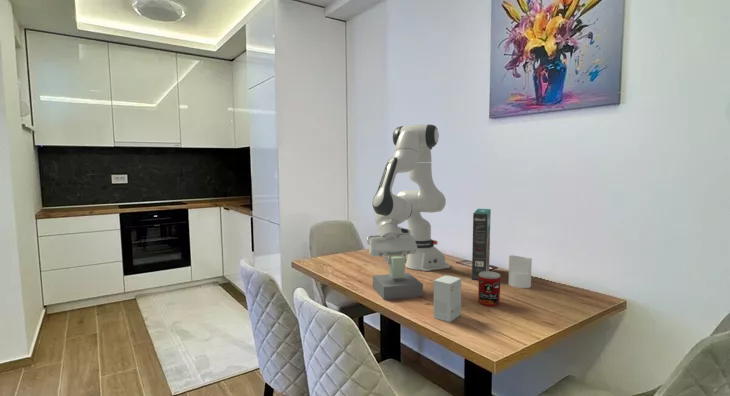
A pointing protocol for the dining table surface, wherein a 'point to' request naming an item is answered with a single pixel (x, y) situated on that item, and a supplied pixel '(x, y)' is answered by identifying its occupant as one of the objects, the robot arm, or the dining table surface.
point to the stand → (397, 286)
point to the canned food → (489, 288)
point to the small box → (447, 298)
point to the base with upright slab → (520, 271)
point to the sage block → (397, 266)
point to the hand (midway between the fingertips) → (397, 263)
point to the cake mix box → (481, 242)
